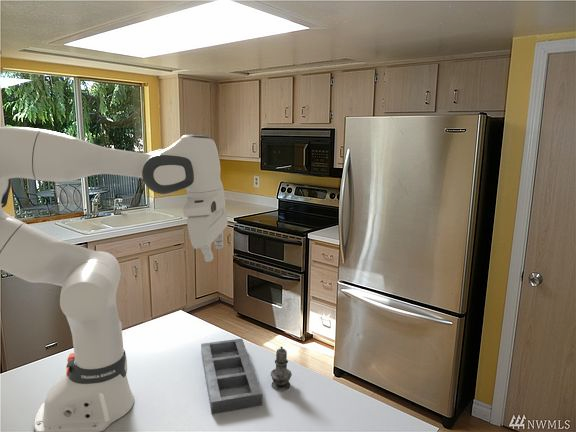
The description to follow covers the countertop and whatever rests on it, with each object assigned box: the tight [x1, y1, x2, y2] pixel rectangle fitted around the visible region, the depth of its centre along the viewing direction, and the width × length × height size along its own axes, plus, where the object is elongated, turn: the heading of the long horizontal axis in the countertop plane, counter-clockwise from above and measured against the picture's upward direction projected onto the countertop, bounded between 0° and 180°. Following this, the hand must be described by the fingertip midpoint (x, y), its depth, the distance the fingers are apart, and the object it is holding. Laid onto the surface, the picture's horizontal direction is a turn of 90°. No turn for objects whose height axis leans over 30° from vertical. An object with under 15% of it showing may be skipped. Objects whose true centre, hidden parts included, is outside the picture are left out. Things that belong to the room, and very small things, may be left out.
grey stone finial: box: [270, 346, 292, 392], centre depth 116 cm, size 6×6×12 cm
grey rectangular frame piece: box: [200, 338, 263, 415], centre depth 120 cm, size 13×29×4 cm, turn 16°
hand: (214, 254), depth 106 cm, fingers open, 8 cm apart
